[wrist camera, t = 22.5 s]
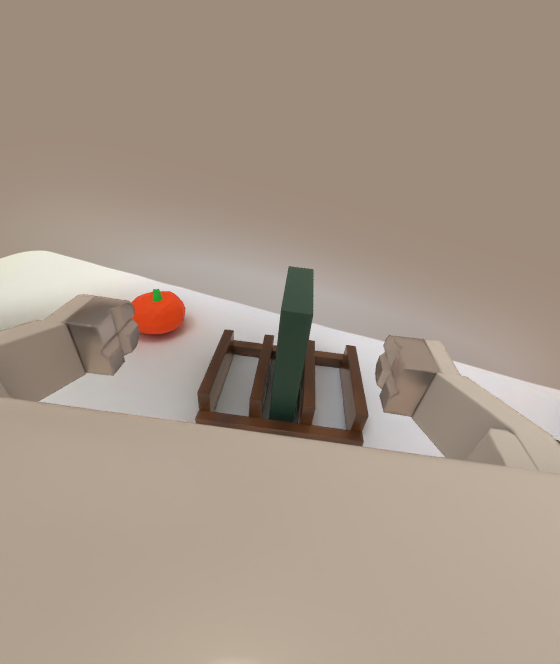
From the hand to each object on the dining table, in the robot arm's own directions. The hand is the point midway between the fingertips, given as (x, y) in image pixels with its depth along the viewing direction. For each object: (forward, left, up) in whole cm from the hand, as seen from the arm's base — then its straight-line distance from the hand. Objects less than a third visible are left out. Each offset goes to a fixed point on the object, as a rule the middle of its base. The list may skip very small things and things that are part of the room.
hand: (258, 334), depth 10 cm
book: (+2, +17, -21) cm, 27 cm away
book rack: (+1, +17, -21) cm, 27 cm away
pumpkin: (-18, +26, -21) cm, 38 cm away
